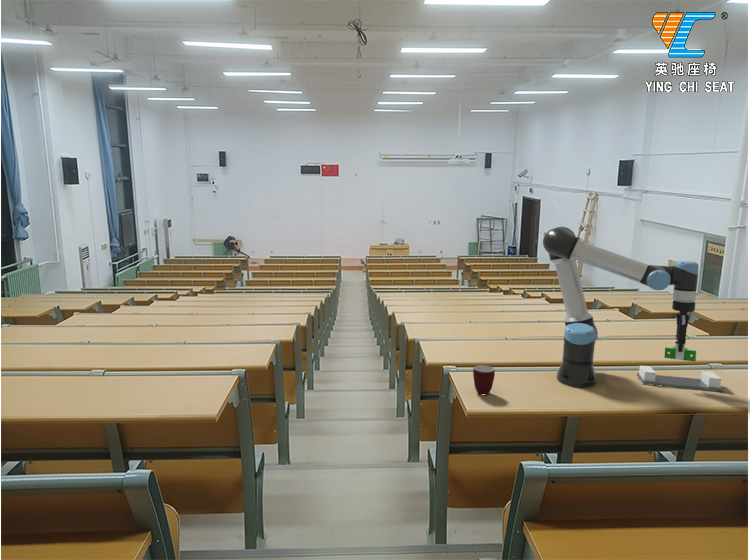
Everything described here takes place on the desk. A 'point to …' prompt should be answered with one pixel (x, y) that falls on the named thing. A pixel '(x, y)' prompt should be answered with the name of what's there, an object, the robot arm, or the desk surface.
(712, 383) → the mounting rail
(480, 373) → the mug
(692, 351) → the pipe clamp
